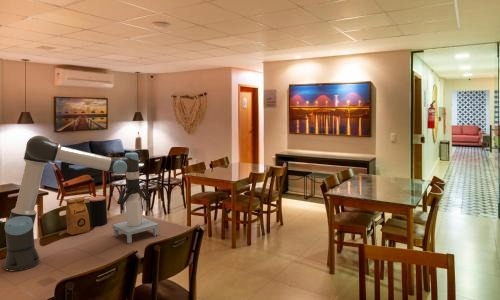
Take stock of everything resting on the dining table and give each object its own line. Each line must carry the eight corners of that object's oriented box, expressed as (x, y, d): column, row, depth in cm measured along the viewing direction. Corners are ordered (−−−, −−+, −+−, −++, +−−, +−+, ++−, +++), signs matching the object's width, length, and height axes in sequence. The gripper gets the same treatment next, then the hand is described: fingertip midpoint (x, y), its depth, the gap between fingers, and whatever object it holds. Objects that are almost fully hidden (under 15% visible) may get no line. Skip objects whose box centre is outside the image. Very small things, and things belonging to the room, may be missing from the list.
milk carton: (138, 226, 218) (137, 195, 216) (126, 226, 218) (125, 195, 216) (142, 222, 225) (141, 192, 223) (131, 222, 225) (129, 192, 223)
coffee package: (92, 231, 231) (89, 197, 228) (71, 237, 222) (68, 201, 219) (85, 228, 238) (83, 195, 235) (65, 233, 229) (63, 199, 226)
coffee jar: (110, 221, 251) (108, 196, 249) (102, 226, 241) (100, 200, 239) (95, 221, 252) (93, 196, 250) (87, 226, 242) (85, 199, 240)
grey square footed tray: (128, 243, 209) (127, 232, 208) (112, 235, 223) (112, 224, 222) (159, 235, 223) (158, 224, 222) (142, 228, 237) (142, 217, 236)
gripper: (115, 182, 207) (117, 218, 210) (154, 176, 225) (156, 209, 227) (109, 180, 213) (111, 216, 215) (148, 174, 230) (149, 207, 232)
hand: (134, 213), depth 221 cm, fingers open, 13 cm apart
